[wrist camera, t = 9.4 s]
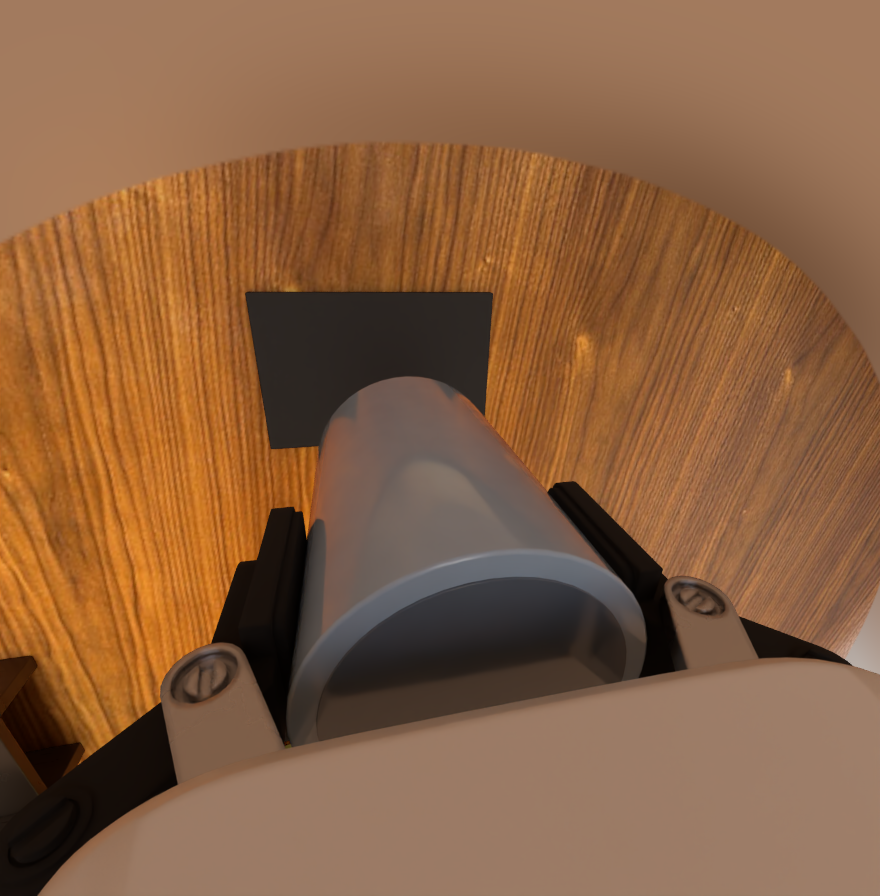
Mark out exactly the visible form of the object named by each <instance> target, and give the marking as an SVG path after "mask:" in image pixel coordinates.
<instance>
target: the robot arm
mask: <svg viewBox="0 0 880 896" xmlns="http://www.w3.org/2000/svg"><path fill="white" fill-rule="evenodd" d="M548 493H549V494H550V495H551V496H552V498H553V499H554V500H555V501H556V502H557V503H558V505H559V506H560V507H561V508H562V509H563V511H564V512H565V513H566V514H567V515H568V517H569V518H570V519H571V520H572V521H573V522H574V524H575V525H576V526H577V527H578V528H579V530H580V531H581V532H582V533H583V534H584V535H585V537H586V538H587V539H588V540H589V541H590V543H591V544H592V545H593V546H594V547H595V549H596V550H597V551H598V552H599V553H600V554H601V556H602V557H603V558H604V559H605V560H606V562H607V563H608V564H609V565H610V566H611V568H612V569H613V570H614V571H615V572H616V573H617V575H618V576H619V577H620V578H621V579H622V581H623V582H624V583H625V584H626V585H627V586H628V588H629V589H630V590H631V591H632V592H633V594H634V596H635V598H636V599H637V601H638V603H639V605H640V607H641V610H642V613H643V616H644V619H645V623H646V631H647V651H646V657H645V661H644V665H643V669H642V672H641V674H640V677H639V678H638V679H633V680H627V681H622V682H617V683H611V684H606V685H601V686H595V687H590V688H585V689H580V690H574V691H569V692H564V693H559V694H554V695H548V696H543V697H538V698H533V699H528V700H523V701H517V702H512V703H507V704H502V705H497V706H492V707H487V708H482V709H476V710H471V711H466V712H461V713H456V714H451V715H446V716H441V717H436V718H431V719H426V720H421V721H416V722H411V723H406V724H401V725H396V726H391V727H386V728H381V729H376V730H371V731H366V732H361V733H356V734H352V735H347V736H343V737H338V738H333V739H329V740H324V741H320V742H315V743H310V744H306V745H301V746H297V747H292V748H288V749H285V746H284V743H285V741H289V738H288V735H287V728H286V719H285V714H286V704H287V696H288V688H289V680H290V672H291V664H292V656H293V648H294V640H295V632H296V624H297V616H298V608H299V600H300V592H301V584H302V576H303V568H304V560H305V552H306V544H307V539H306V532H305V525H304V517H303V513H302V511H301V512H295V509H294V507H286V508H275V509H271V511H270V515H269V518H268V522H267V526H266V529H265V533H264V536H263V540H262V544H261V547H260V551H259V554H258V558H257V560H253V561H245V562H240V563H239V564H238V566H237V568H236V571H235V574H234V577H233V580H232V583H231V586H230V589H229V592H228V595H227V598H226V601H225V604H224V607H223V610H222V613H221V616H220V619H219V622H218V625H217V628H216V631H215V634H214V637H213V640H212V643H211V644H208V645H205V646H203V647H200V648H197V649H195V650H193V651H192V652H190V653H188V654H187V655H185V656H184V657H182V658H181V659H180V660H179V661H178V662H176V663H175V664H174V665H173V666H172V668H171V669H170V670H169V671H168V673H167V674H166V675H165V678H164V680H163V682H162V685H161V691H160V698H161V703H159V704H158V705H157V706H155V707H154V708H153V709H151V710H150V711H149V712H147V713H146V714H145V715H143V716H142V717H141V718H140V719H138V720H137V721H136V722H134V723H133V724H132V725H130V726H129V727H128V728H126V729H125V730H124V731H122V732H121V733H120V734H118V735H117V736H116V737H115V738H113V739H112V740H111V741H109V742H108V743H107V744H105V745H104V746H103V747H101V748H100V749H99V750H97V751H96V752H95V753H94V754H92V755H91V756H90V757H88V758H87V759H86V760H84V761H83V762H82V763H80V764H79V765H78V766H76V767H75V768H74V769H72V770H71V771H70V772H69V773H67V774H66V775H65V776H63V777H62V778H61V779H59V780H58V781H57V782H55V783H54V784H53V785H51V786H50V787H49V788H48V789H46V790H45V791H44V792H42V793H41V794H40V795H38V796H37V797H36V798H34V799H33V800H32V801H30V802H29V803H28V804H27V805H26V806H25V807H24V808H22V809H21V810H20V811H19V812H18V813H17V814H16V815H14V816H13V817H12V818H11V819H10V821H9V822H8V823H7V824H6V825H5V826H4V828H3V829H2V830H1V831H0V896H880V675H879V674H877V673H873V672H870V671H867V670H864V669H861V668H858V667H854V666H852V665H851V664H850V663H849V662H848V661H846V660H845V659H843V658H841V657H840V656H838V655H837V654H835V653H833V652H831V651H829V650H827V649H824V648H822V647H820V646H817V645H814V644H812V643H809V642H806V641H804V640H801V639H798V638H796V637H793V636H790V635H788V634H785V633H782V632H780V631H777V630H774V629H772V628H769V627H766V626H763V625H761V624H758V623H755V622H753V621H750V620H747V619H745V618H742V617H739V616H738V614H737V612H736V610H735V608H734V606H733V604H732V602H731V601H730V599H729V598H728V597H727V596H726V595H725V594H724V593H723V592H722V591H721V590H720V589H718V588H717V587H715V586H713V585H712V584H710V583H708V582H705V581H703V580H701V579H697V578H694V577H689V576H676V577H672V578H670V579H667V578H666V577H665V576H664V575H663V574H662V570H663V569H662V568H661V567H660V566H659V565H658V564H657V563H656V562H655V561H654V560H653V559H652V558H651V557H650V556H649V555H648V554H647V553H646V552H645V551H644V550H643V549H642V548H641V547H640V546H639V545H638V544H637V543H636V542H635V541H634V540H633V539H632V538H631V537H630V536H629V535H628V534H627V533H626V532H625V531H624V530H623V529H622V528H621V527H620V526H619V525H618V524H617V523H616V522H615V521H614V520H613V519H612V518H611V517H610V516H609V515H608V514H607V513H606V512H605V511H604V510H603V509H602V508H601V507H600V506H599V505H598V504H597V503H596V502H595V501H594V500H593V499H592V498H591V497H590V496H589V495H588V494H587V493H586V492H585V491H584V490H583V489H582V488H581V487H580V486H579V485H578V484H577V483H576V482H574V481H572V482H561V483H555V484H554V486H553V488H550V489H549V491H548Z"/></svg>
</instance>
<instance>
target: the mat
mask: <svg viewBox="0 0 880 896" xmlns="http://www.w3.org/2000/svg"><path fill="white" fill-rule="evenodd" d="M245 295H246V301H247V307H248V313H249V319H250V325H251V331H252V337H253V343H254V349H255V355H256V361H257V368H258V374H259V380H260V386H261V392H262V398H263V404H264V410H265V416H266V422H267V428H268V434H269V440H270V446H271V449H282V448H297V447H312V446H319V444H320V440H321V436H322V434H323V431H324V429H325V427H326V425H327V423H328V422H329V420H330V418H331V417H332V415H333V414H334V413H335V411H336V410H337V409H338V408H339V407H340V406H341V405H342V404H343V403H344V402H345V401H346V400H347V399H348V398H349V397H351V396H352V395H354V394H355V393H357V392H358V391H360V390H361V389H363V388H365V387H367V386H369V385H371V384H374V383H377V382H379V381H382V380H387V379H391V378H397V377H423V378H429V379H433V380H436V381H440V382H443V383H445V384H447V385H449V386H451V387H453V388H455V389H456V390H458V391H460V392H461V393H462V394H464V395H465V396H466V397H467V398H468V399H469V400H470V401H471V402H472V403H473V404H474V405H475V406H476V407H477V409H478V410H479V411H480V412H481V413H482V415H483V416H484V417H485V403H486V388H487V373H488V358H489V344H490V329H491V314H492V299H493V293H491V292H246V293H245Z"/></svg>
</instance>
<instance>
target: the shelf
mask: <svg viewBox="0 0 880 896" xmlns="http://www.w3.org/2000/svg"><path fill="white" fill-rule="evenodd" d="M36 667H37V665H36V663H35V661H34V659H33V657H32V656H27V657H20V658H13V659H6V660H0V716H1V715H2V714H3V713H4V711H5V710H6V709H7V707H8V706H9V704H10V703H11V702H12V700H13V699H14V698H15V696H16V695H17V693H18V692H19V691H20V689H21V688H22V687H23V685H24V684H25V683H26V681H27V680H28V678H29V677H30V676H31V674H32V673H33V672H34V670H35V669H36ZM84 751H85V750H84V749H83V747H82V745H81V743H76V744H71V745H65V746H60V747H54V748H48V749H43V750H37V751H32V752H26V753H24V752H23V751H22V749H21V748H20V746H19V745H18V743H17V742H16V740H15V739H14V737H13V736H12V734H11V732H10V731H9V729H8V728H7V726H6V725H5V723H4V722H3V720H2V719H1V717H0V831H1V830H2V829H3V828H4V826H5V825H6V824H7V823H8V822H9V821H10V819H11V818H12V817H13V816H14V815H16V814H17V813H18V812H19V811H20V810H21V809H22V808H24V807H25V806H26V805H27V804H28V803H29V802H30V801H32V800H33V799H34V798H36V797H37V796H38V795H40V794H41V793H42V792H44V791H45V790H46V789H48V788H49V787H50V786H51V785H53V784H54V783H55V782H57V781H58V780H59V779H61V778H62V777H63V776H65V775H66V774H67V773H69V772H70V771H71V770H72V769H74V768H75V767H76V766H77V765H78V763H79V761H80V759H81V757H82V755H83V753H84Z"/></svg>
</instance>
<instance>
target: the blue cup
mask: <svg viewBox="0 0 880 896" xmlns="http://www.w3.org/2000/svg"><path fill="white" fill-rule="evenodd" d="M646 651H647V631H646V623H645V619H644V616H643V613H642V610H641V607H640V605H639V603H638V601H637V599H636V598H635V596H634V594H633V592H632V591H631V590H630V589H629V588H628V586H627V585H626V584H625V583H624V582H623V581H622V579H621V578H620V577H619V576H618V575H617V573H616V572H615V571H614V570H613V569H612V568H611V566H610V565H609V564H608V563H607V562H606V560H605V559H604V558H603V557H602V556H601V554H600V553H599V552H598V551H597V550H596V549H595V547H594V546H593V545H592V544H591V543H590V541H589V540H588V539H587V538H586V537H585V535H584V534H583V533H582V532H581V531H580V530H579V528H578V527H577V526H576V525H575V524H574V522H573V521H572V520H571V519H570V518H569V517H568V515H567V514H566V513H565V512H564V511H563V509H562V508H561V507H560V506H559V505H558V503H557V502H556V501H555V500H554V499H553V498H552V496H551V495H550V494H549V493H548V492H547V490H546V489H545V488H544V487H543V486H542V484H541V483H540V482H539V481H538V480H537V479H536V477H535V476H534V475H533V474H532V473H531V471H530V470H529V469H528V468H527V467H526V466H525V464H524V463H523V462H522V461H521V460H520V458H519V457H518V456H517V455H516V454H515V452H514V451H513V450H512V449H511V448H510V447H509V445H508V444H507V443H506V442H505V441H504V439H503V438H502V437H501V436H500V435H499V434H498V432H497V431H496V430H495V429H494V428H493V426H492V425H491V424H490V423H489V422H488V420H487V419H486V418H485V417H484V416H483V415H482V413H481V412H480V411H479V410H478V409H477V407H476V406H475V405H474V404H473V403H472V402H471V401H470V400H469V399H468V398H467V397H466V396H465V395H464V394H462V393H461V392H460V391H458V390H456V389H455V388H453V387H451V386H449V385H447V384H445V383H443V382H440V381H436V380H433V379H429V378H423V377H397V378H391V379H387V380H382V381H379V382H377V383H374V384H371V385H369V386H367V387H365V388H363V389H361V390H360V391H358V392H357V393H355V394H354V395H352V396H351V397H349V398H348V399H347V400H346V401H345V402H344V403H343V404H342V405H341V406H340V407H339V408H338V409H337V410H336V411H335V413H334V414H333V415H332V417H331V418H330V420H329V422H328V423H327V425H326V427H325V429H324V431H323V434H322V436H321V440H320V444H319V448H318V456H317V464H316V472H315V480H314V488H313V496H312V504H311V512H310V520H309V528H308V536H307V544H306V552H305V560H304V568H303V576H302V584H301V592H300V600H299V608H298V616H297V624H296V632H295V640H294V648H293V656H292V664H291V672H290V680H289V688H288V696H287V704H286V714H285V719H286V728H287V735H288V738H289V741H290V744H291V747H297V746H301V745H306V744H310V743H315V742H320V741H324V740H329V739H333V738H338V737H343V736H347V735H352V734H356V733H361V732H366V731H371V730H376V729H381V728H386V727H391V726H396V725H401V724H406V723H411V722H416V721H421V720H426V719H431V718H436V717H441V716H446V715H451V714H456V713H461V712H466V711H471V710H476V709H482V708H487V707H492V706H497V705H502V704H507V703H512V702H517V701H523V700H528V699H533V698H538V697H543V696H548V695H554V694H559V693H564V692H569V691H574V690H580V689H585V688H590V687H595V686H601V685H606V684H611V683H617V682H622V681H627V680H633V679H638V678H639V677H640V674H641V672H642V669H643V665H644V661H645V657H646Z"/></svg>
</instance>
